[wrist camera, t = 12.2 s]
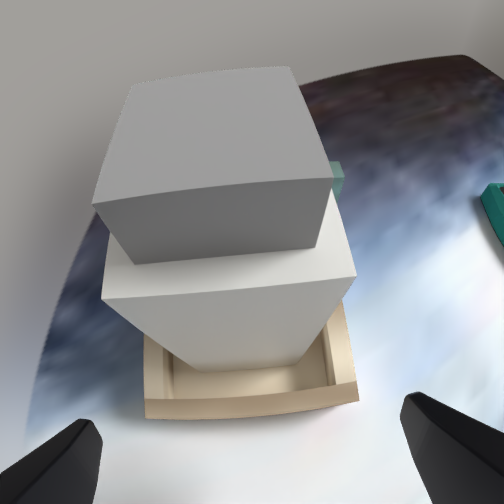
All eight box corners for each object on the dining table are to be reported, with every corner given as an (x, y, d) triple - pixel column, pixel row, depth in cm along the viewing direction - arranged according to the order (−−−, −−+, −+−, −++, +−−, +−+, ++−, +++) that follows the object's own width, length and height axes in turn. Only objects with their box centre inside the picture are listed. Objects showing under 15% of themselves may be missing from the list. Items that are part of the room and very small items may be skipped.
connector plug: (296, 364, 15) (392, 213, 4) (201, 372, 15) (45, 248, 4) (284, 278, 18) (311, 55, 6) (197, 286, 18) (113, 78, 6)
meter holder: (345, 402, 15) (401, 393, 8) (161, 418, 14) (97, 417, 8) (317, 242, 19) (338, 161, 13) (161, 257, 19) (121, 182, 13)
